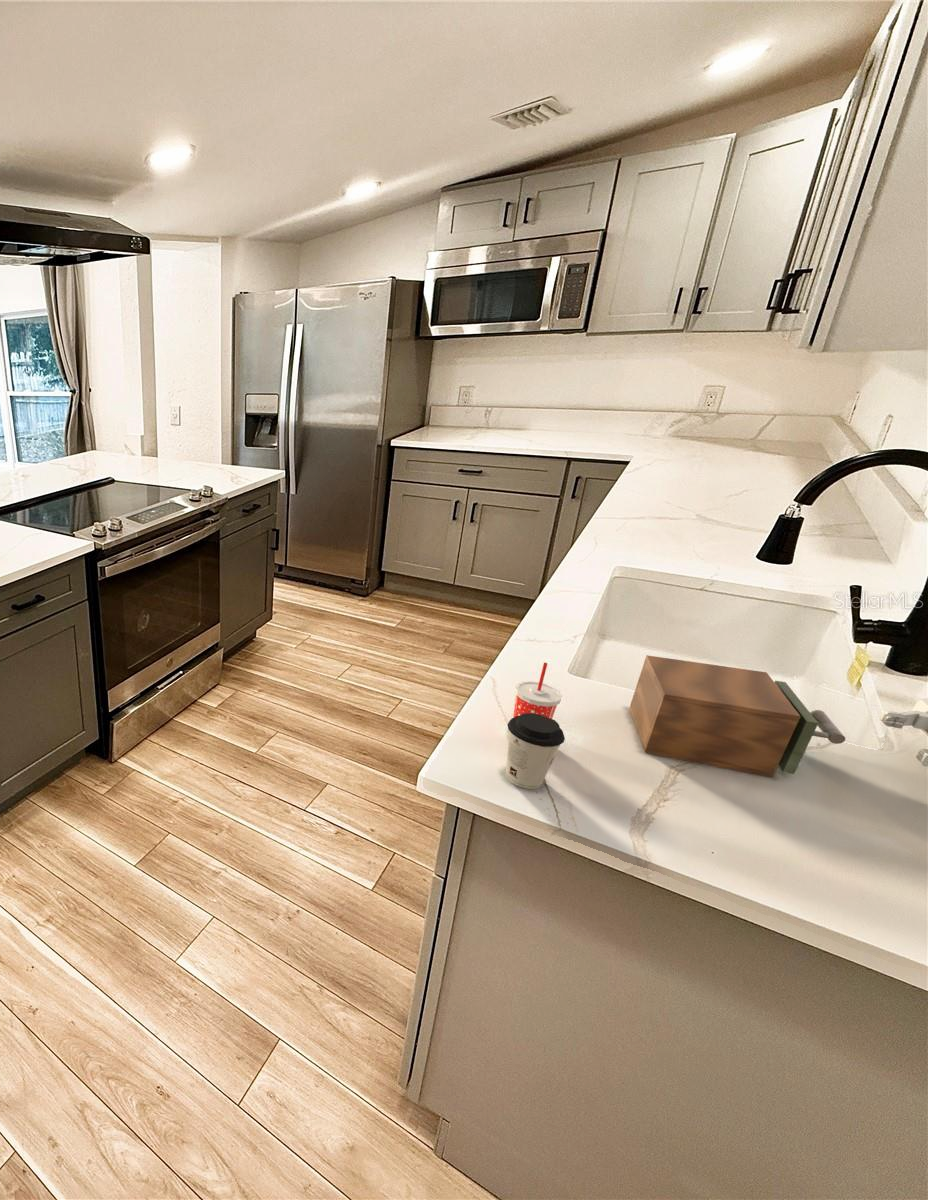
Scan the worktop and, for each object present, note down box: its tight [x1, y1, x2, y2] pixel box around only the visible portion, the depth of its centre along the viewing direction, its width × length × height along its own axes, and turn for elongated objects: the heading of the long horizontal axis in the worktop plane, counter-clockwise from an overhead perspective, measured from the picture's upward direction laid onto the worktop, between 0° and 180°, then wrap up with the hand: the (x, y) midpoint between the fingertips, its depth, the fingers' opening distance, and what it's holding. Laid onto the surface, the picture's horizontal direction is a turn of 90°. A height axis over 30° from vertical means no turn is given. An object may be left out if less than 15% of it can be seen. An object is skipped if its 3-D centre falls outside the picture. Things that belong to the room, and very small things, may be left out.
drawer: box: [774, 680, 846, 775], centre depth 91 cm, size 18×11×9 cm, turn 62°
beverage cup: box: [512, 662, 563, 719], centre depth 96 cm, size 6×6×14 cm
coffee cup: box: [505, 713, 566, 790], centre depth 89 cm, size 7×7×10 cm
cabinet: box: [628, 655, 800, 778], centre depth 94 cm, size 15×13×11 cm
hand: (901, 736), depth 84 cm, fingers open, 8 cm apart
